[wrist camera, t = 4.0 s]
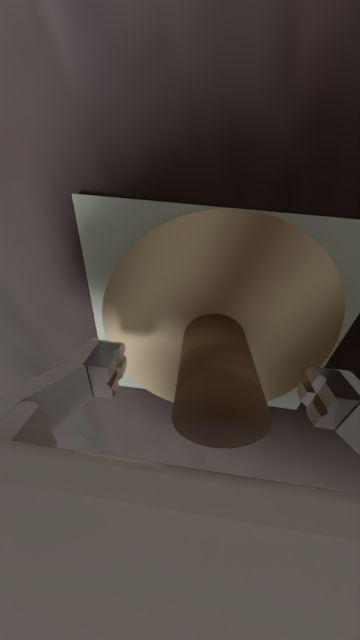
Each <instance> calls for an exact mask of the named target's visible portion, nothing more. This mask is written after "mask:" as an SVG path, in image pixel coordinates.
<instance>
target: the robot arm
mask: <svg viewBox="0 0 360 640" xmlns="http://www.w3.org/2000/svg"><path fill="white" fill-rule="evenodd" d="M125 350H126V349H125V344H124V343H120V342H113V341H107V340H98V339H89V340H88V341H87V342H86V343H85V345H84V346H83V347H82V348H81V349H80V351H79V352H78V353H77V354H76V355H75V356H74V358H73V359H72V360H71V361H70V362H69V363H64V364H62V365H59V366H57V367H55V368H53V369H51V370H49V371H47V372H45V373H43V374H41V375H38V376H36V377H34V378H32V379H30V380H28V381H26V382H24V383H22V384H20V385H17V386H15V387H13V388H11V389H9V390H7V391H5V392H3V393H1V394H0V640H360V494H354V493H348V492H341V491H335V490H328V489H322V488H315V487H309V486H302V485H296V484H290V483H283V482H277V481H270V480H264V479H257V478H251V477H244V476H238V475H232V474H225V473H219V472H212V471H206V470H199V469H193V468H186V467H180V466H173V465H167V464H160V463H154V462H147V461H141V460H134V459H128V458H121V457H115V456H108V455H102V454H95V453H89V452H82V451H76V450H69V449H63V448H57V447H56V446H57V441H56V439H55V437H54V435H53V433H52V430H53V429H55V428H56V427H57V426H58V425H60V424H61V423H62V422H63V421H65V420H66V419H67V418H68V417H70V416H71V415H72V414H73V413H75V412H76V411H77V410H78V409H80V408H81V407H82V406H83V405H85V404H86V403H87V402H88V401H90V400H91V399H92V398H93V396H95V397H104V398H113V397H114V395H115V393H116V391H117V389H118V387H119V383H118V380H120V379H121V378H123V376H124V373H125V370H126V365H127V359H126V356H125V355H124V352H125ZM305 375H306V377H305V378H303V379H301V380H300V382H299V384H298V390H297V392H298V396H299V398H300V401H301V402H302V403H303V404H304V405H306V406H307V409H306V413H307V415H308V417H309V419H310V421H311V423H312V425H313V427H319V428H325V429H331V430H336V432H337V433H338V434H339V435H340V436H341V437H342V438H343V439H344V440H345V441H346V442H347V443H348V444H349V445H350V446H351V447H352V448H353V449H354V450H355V451H356V452H357V453H358V454H359V455H360V381H359V379H358V378H357V377H356V376H355V375H354V374H353V373H352V372H350V371H348V370H338V369H328V368H319V367H309V368H308V369H307V370H306V372H305Z"/></svg>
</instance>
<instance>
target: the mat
mask: <svg viewBox="0 0 360 640" xmlns="http://www.w3.org/2000/svg"><path fill="white" fill-rule="evenodd" d="M72 199H73V204H74V209H75V215H76V220H77V226H78V231H79V236H80V242H81V247H82V253H83V258H84V264H85V269H86V274H87V280H88V285H89V291H90V296H91V301H92V307H93V312H94V318H95V323H96V329H97V334H98V339H99V340H106V338H105V333H104V329H103V322H102V304H103V297H104V293H105V289H106V286H107V283H108V281H109V278H110V276H111V274H112V272H113V270H114V269H115V267H116V265H117V264H118V262H119V260H120V259H121V258H122V257H123V256H124V254H125V253H126V252H127V251H128V250H129V249H130V247H131V246H133V245H134V244H135V243H136V242H137V241H138V240H140V239H141V238H142V237H143V236H144V235H146V234H147V233H149V232H151V231H152V230H154V229H155V228H157V227H158V226H160V225H162V224H164V223H166V222H168V221H170V220H173V219H175V218H177V217H179V216H182V215H186V214H189V213H193V212H196V211H200V210H208V209H217V208H226V207H215V206H204V205H193V204H182V203H171V202H160V201H149V200H138V199H127V198H116V197H104V196H93V195H82V194H72ZM231 209H237V208H231ZM243 210H248V209H243ZM249 211H255V212H260V213H265V214H268V215H271V216H274V217H276V218H279V219H282V220H285V221H287V222H288V223H290V224H292V225H294V226H296V227H298V228H299V229H301V230H303V231H304V232H305V233H306V234H308V235H309V236H310V237H311V238H313V239H314V240H315V241H316V242H317V243H318V244H319V245H320V246H321V247H322V248H323V250H324V251H325V252H326V253H327V254H328V255H329V257H330V259H331V260H332V262H333V264H334V265H335V267H336V269H337V271H338V274H339V276H340V279H341V282H342V285H343V291H344V297H345V315H344V320H343V325H342V330H341V332H340V335H339V338H338V340H337V343H336V345H335V346H334V348H333V350H332V352H331V353H330V355H329V356H328V358H327V359H326V360H325V362H324V363H323V364H322V366H321V367H320V368H324V366H325V365H326V363H327V362H328V360H329V359H330V357H331V356H332V354H333V353H334V351H335V350H336V348H337V347H338V345H339V344H340V342H341V340H342V339H343V337H344V336H345V334H346V333H347V331H348V330H349V328H350V327H351V325H352V324H353V322H354V321H355V319H356V318H357V316H358V314H359V313H360V220H359V219H348V218H337V217H326V216H315V215H304V214H293V213H281V212H270V211H259V210H249ZM118 383H119V385H120V386H128V387H135V388H142V389H145V388H144V387H142V386H141V385H139V384H138V383H137V382H136V381H135V380H133V379H132V378H131V377H130V376H129V375H128V374H127V373H126V372H125V373H124V376H123V378H121V379H120V380H118ZM297 390H298V387H296V388H294V389H293V390H291V391H290V392H288V393H286V394H284V395H282V396H280V397H278V398H275V399H273V400H270V401H268V402H267V404H268V406H272V407H279V408H287V409H294V410H296V409H297V408H298V406H299V405H300V403H301V401H300V398H299V396H298V392H297Z"/></svg>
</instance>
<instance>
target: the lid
mask: <svg viewBox="0 0 360 640" xmlns="http://www.w3.org/2000/svg"><path fill="white" fill-rule="evenodd" d="M344 315H345V297H344V291H343V285H342V282H341V279H340V276H339V274H338V271H337V269H336V267H335V265H334V264H333V262H332V260H331V259H330V257H329V255H328V254H327V253H326V252H325V251H324V250H323V248H322V247H321V246H320V245H319V244H318V243H317V242H316V241H315V240H314V239H313V238H311V237H310V236H309V235H308V234H306V233H305V232H304V231H303V230H301V229H299V228H298V227H296V226H294V225H292V224H290V223H288V222H287V221H285V220H282V219H279V218H276V217H274V216H271V215H268V214H265V213H260V212H255V211H249V210H243V209H231V208H217V209H208V210H200V211H196V212H193V213H189V214H186V215H182V216H179V217H177V218H175V219H173V220H170V221H168V222H166V223H164V224H162V225H160V226H158V227H157V228H155V229H154V230H152V231H151V232H149V233H147V234H146V235H144V236H143V237H142V238H141V239H140V240H138V241H137V242H136V243H135V244H134V245H133V246H131V247H130V249H129V250H128V251H127V252H126V253H125V254H124V256H123V257H122V258H121V259H120V260H119V262H118V264H117V265H116V267H115V269H114V270H113V272H112V274H111V276H110V278H109V281H108V283H107V286H106V289H105V293H104V297H103V304H102V322H103V329H104V333H105V338H106V340H107V341H113V342H120V343H124V344H125V349H126V350H125V352H124V355H125V356H126V359H127V365H126V370H125V372H126V373H127V374H128V375H129V376H130V377H131V378H132V379H133V380H135V381H136V382H137V383H138V384H139V385H141V386H142V387H144V388H145V389H146V390H148V391H150V392H152V393H153V394H155V395H157V396H159V397H161V398H163V399H166V400H168V401H171V402H174V406H173V412H172V422H173V425H174V427H175V429H176V430H177V431H178V432H179V433H180V434H181V435H182V436H183V437H185V438H186V439H188V440H190V441H192V442H194V443H197V444H200V445H203V446H208V447H214V448H236V447H242V446H246V445H249V444H252V443H254V442H256V441H258V440H260V439H261V438H263V437H264V436H265V435H266V434H267V433H268V431H269V430H270V428H271V425H272V417H271V414H270V411H269V408H268V404H267V402H268V401H270V400H273V399H275V398H278V397H280V396H282V395H284V394H286V393H288V392H290V391H291V390H293V389H294V388H296V387H298V384H299V382H300V380H301V379H303V378H305V377H306V375H305V372H306V370H307V369H308V368H309V367H319V368H320V367H321V366H322V364H323V363H324V362H325V360H326V359H327V358H328V356H329V355H330V353H331V352H332V350H333V348H334V346H335V345H336V343H337V340H338V338H339V335H340V332H341V330H342V325H343V320H344Z"/></svg>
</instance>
